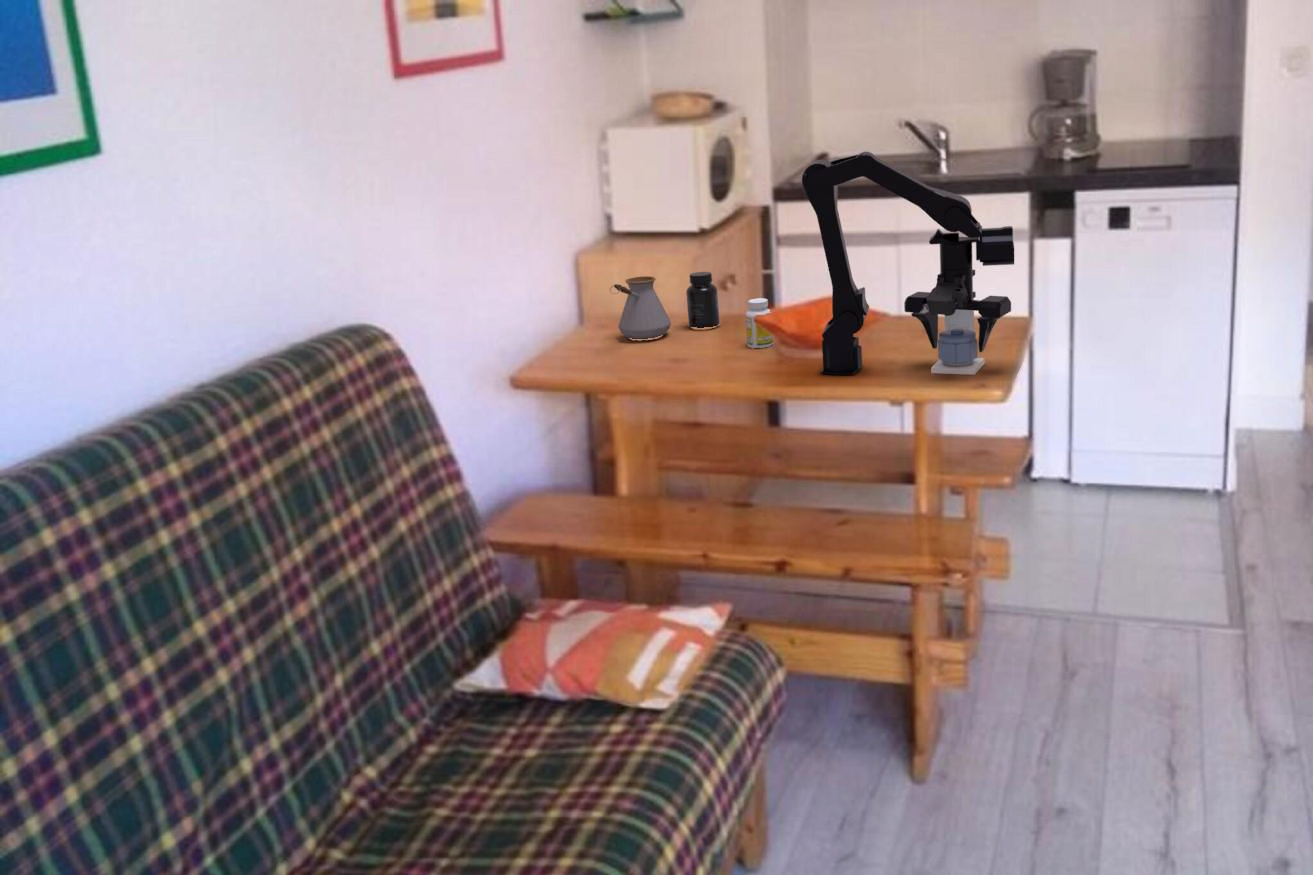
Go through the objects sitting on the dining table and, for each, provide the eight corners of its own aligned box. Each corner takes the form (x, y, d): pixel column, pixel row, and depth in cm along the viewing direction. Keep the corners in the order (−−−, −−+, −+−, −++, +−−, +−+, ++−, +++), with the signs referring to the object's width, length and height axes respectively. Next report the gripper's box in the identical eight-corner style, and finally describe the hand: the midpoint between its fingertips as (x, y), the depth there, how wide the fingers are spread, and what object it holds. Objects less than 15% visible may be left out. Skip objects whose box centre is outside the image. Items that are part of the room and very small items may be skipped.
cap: (935, 355, 257) (934, 328, 256) (969, 351, 258) (969, 324, 256) (945, 364, 251) (945, 336, 249) (980, 360, 251) (980, 332, 250)
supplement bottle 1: (703, 322, 308) (700, 269, 305) (726, 325, 304) (722, 272, 300) (682, 328, 304) (678, 275, 300) (705, 332, 299) (701, 278, 296)
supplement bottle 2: (743, 348, 283) (740, 302, 280) (754, 342, 287) (751, 297, 284) (766, 349, 280) (764, 303, 277) (777, 343, 285) (775, 297, 282)
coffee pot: (630, 330, 307) (624, 264, 302) (679, 330, 303) (673, 263, 298) (594, 355, 288) (587, 285, 283) (646, 355, 284) (639, 284, 279)
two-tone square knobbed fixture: (931, 373, 253) (930, 346, 252) (942, 361, 260) (941, 336, 259) (974, 374, 250) (973, 348, 248) (984, 363, 256) (984, 337, 255)
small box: (974, 349, 267) (973, 296, 264) (945, 350, 268) (944, 297, 265) (973, 339, 274) (973, 287, 271) (945, 340, 275) (944, 288, 272)
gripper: (889, 273, 248) (892, 357, 253) (987, 278, 238) (988, 365, 242) (916, 261, 257) (918, 342, 262) (1012, 265, 246) (1012, 349, 251)
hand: (957, 350), depth 254 cm, fingers open, 9 cm apart
